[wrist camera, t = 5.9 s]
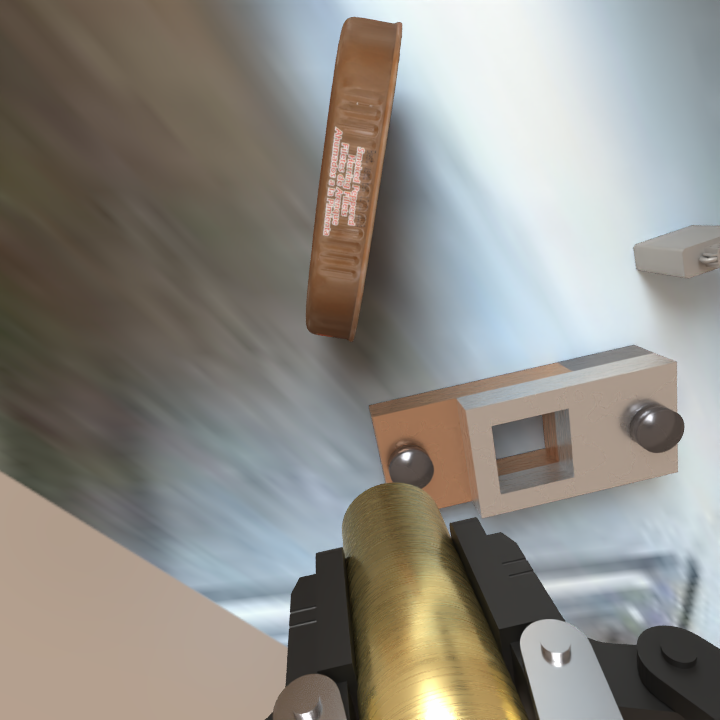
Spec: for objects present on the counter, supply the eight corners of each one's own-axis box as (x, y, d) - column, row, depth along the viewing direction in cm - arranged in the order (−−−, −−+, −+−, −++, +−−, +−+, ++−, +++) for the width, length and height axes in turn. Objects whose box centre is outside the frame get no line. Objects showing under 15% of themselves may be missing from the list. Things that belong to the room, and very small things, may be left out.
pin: (332, 494, 14) (363, 934, 5) (433, 472, 14) (619, 869, 6) (352, 578, 15) (405, 1067, 6) (447, 556, 15) (626, 1010, 6)
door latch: (368, 405, 32) (378, 438, 27) (634, 344, 33) (689, 366, 28) (389, 502, 34) (402, 548, 30) (637, 444, 35) (689, 480, 30)
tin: (351, 324, 31) (365, 362, 23) (301, 317, 30) (298, 354, 22) (392, 58, 27) (426, -10, 19) (335, 46, 26) (345, -29, 18)
